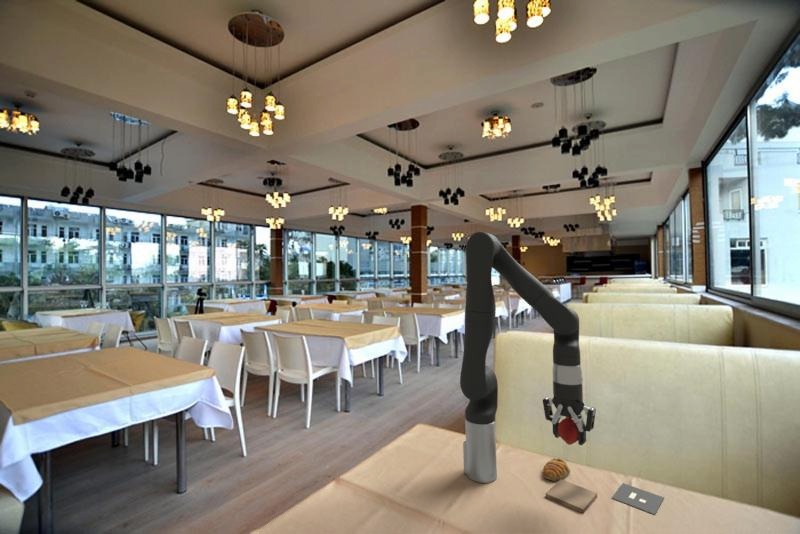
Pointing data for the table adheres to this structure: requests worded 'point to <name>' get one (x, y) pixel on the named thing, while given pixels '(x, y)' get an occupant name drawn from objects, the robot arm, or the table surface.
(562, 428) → the onion
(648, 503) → the mat
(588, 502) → the beige coaster
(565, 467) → the pastry
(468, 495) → the table surface
